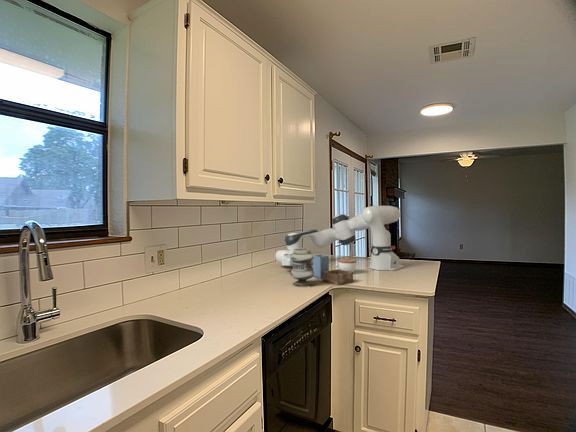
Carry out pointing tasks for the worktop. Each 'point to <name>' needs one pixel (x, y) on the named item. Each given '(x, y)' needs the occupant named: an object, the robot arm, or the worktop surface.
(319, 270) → the slate crate
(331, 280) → the walnut crate
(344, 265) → the lidded jar
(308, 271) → the apothecary jar
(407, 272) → the worktop surface
